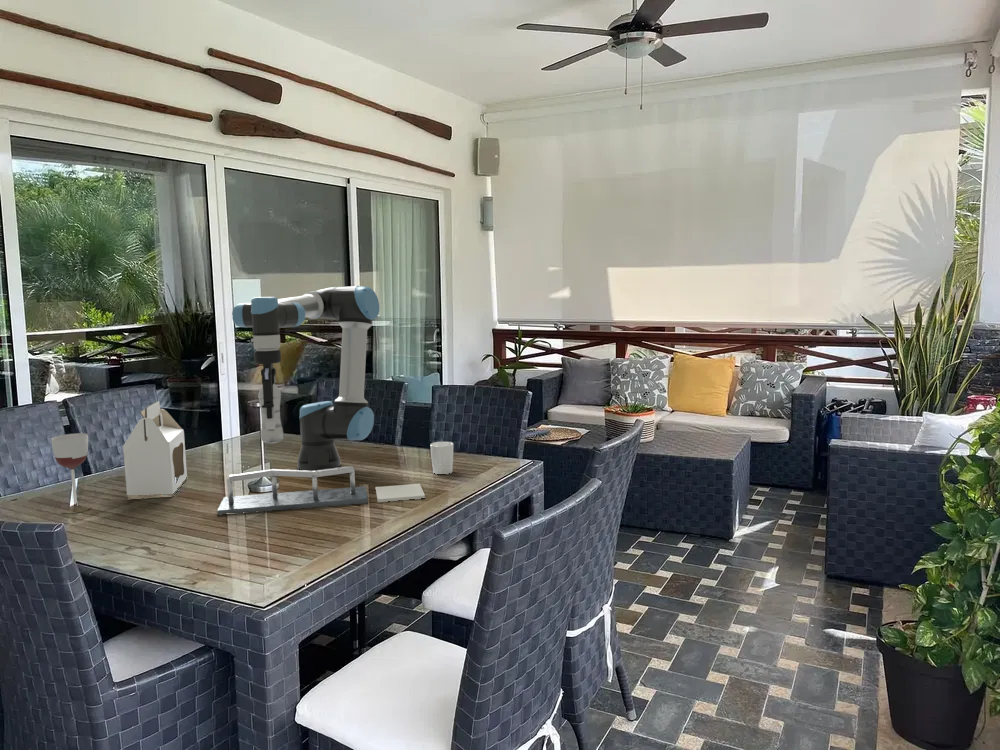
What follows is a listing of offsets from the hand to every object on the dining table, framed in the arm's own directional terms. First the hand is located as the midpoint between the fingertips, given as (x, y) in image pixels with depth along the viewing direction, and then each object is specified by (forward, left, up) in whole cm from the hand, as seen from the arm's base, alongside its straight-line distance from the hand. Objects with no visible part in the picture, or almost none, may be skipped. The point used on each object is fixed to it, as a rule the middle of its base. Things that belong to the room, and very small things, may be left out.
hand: (271, 426), depth 219 cm
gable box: (-25, -38, -23) cm, 51 cm away
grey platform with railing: (+3, +6, -23) cm, 24 cm away
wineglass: (-8, -57, -23) cm, 62 cm away
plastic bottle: (0, 0, -5) cm, 5 cm away
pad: (+3, +37, -23) cm, 43 cm away
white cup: (-20, +53, -23) cm, 62 cm away
